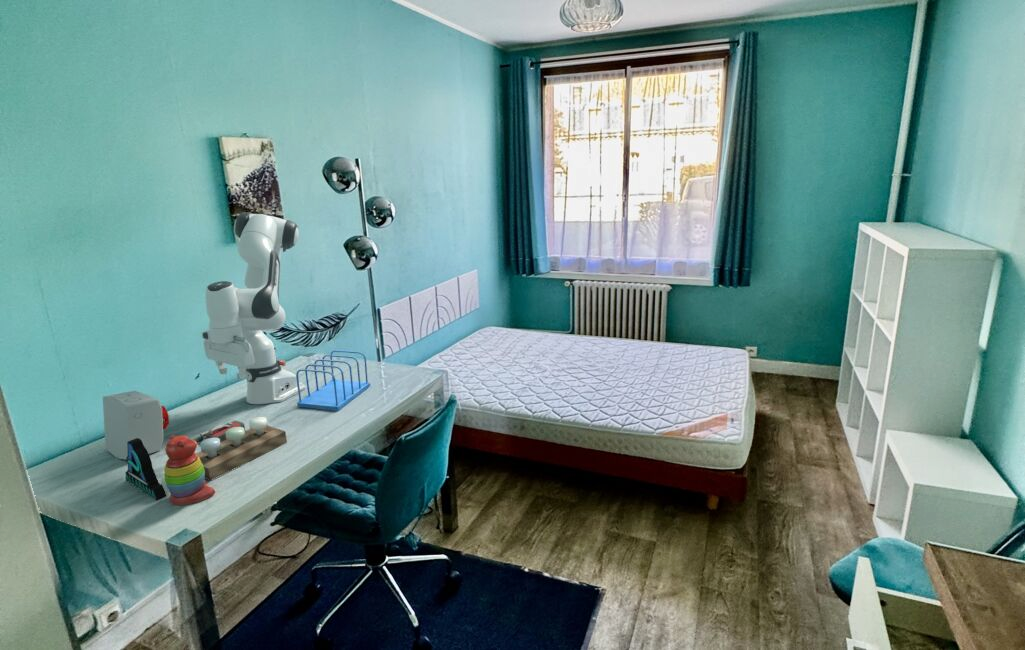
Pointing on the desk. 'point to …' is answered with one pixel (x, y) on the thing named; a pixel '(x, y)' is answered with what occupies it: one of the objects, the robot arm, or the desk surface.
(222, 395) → the desk surface
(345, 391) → the file sorter
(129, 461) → the decorative sign
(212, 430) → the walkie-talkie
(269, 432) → the knob panel
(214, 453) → the grey knob
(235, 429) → the sage knob
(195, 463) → the stacking bear
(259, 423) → the cream knob
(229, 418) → the desk surface
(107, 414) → the electrical switch box
